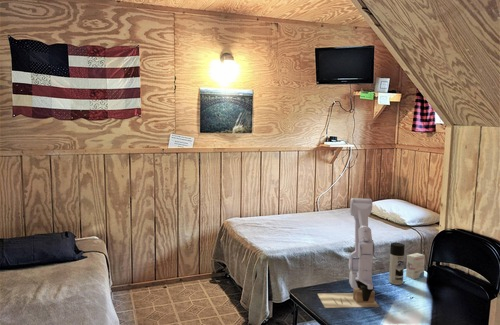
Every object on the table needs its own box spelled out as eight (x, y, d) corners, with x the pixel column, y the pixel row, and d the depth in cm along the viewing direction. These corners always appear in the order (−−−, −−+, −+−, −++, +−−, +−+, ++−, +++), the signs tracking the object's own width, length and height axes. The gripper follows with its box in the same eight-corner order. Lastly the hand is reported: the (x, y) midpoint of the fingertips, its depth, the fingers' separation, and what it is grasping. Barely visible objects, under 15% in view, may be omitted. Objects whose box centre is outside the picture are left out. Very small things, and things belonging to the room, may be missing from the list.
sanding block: (353, 298, 180) (353, 287, 179) (370, 298, 180) (371, 287, 180) (356, 303, 175) (357, 292, 175) (374, 302, 176) (374, 291, 175)
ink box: (416, 273, 216) (417, 252, 214) (424, 276, 211) (425, 254, 210) (405, 276, 211) (406, 254, 210) (413, 279, 207) (414, 257, 206)
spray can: (395, 286, 198) (397, 246, 196) (385, 281, 204) (387, 242, 202) (405, 284, 201) (408, 245, 199) (395, 279, 207) (397, 241, 205)
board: (316, 296, 184) (317, 293, 184) (367, 296, 186) (368, 292, 186) (324, 310, 170) (324, 307, 170) (379, 310, 172) (379, 306, 172)
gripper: (351, 262, 183) (349, 291, 184) (362, 274, 169) (360, 305, 170) (366, 262, 184) (364, 291, 185) (378, 274, 169) (376, 305, 171)
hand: (363, 298), depth 177 cm, fingers closed on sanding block, 4 cm apart
